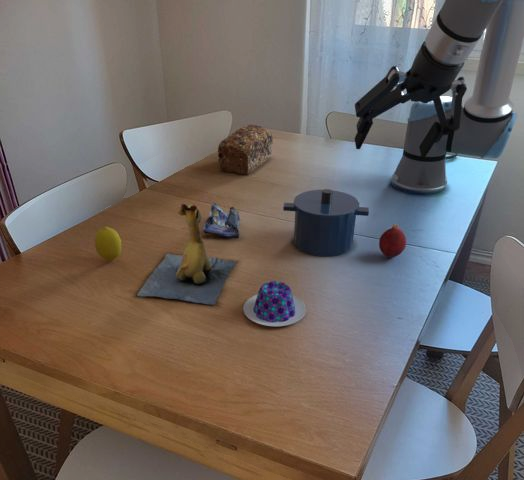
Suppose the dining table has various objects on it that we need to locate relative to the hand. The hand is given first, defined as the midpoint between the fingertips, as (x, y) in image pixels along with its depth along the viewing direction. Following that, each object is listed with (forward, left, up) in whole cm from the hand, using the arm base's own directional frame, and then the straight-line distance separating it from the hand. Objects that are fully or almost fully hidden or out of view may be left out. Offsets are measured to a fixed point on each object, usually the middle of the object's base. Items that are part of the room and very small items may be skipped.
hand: (389, 148), depth 107 cm
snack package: (+20, -31, -25) cm, 44 cm away
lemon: (+49, -31, -25) cm, 63 cm away
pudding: (+30, +5, -25) cm, 39 cm away
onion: (-4, +1, -25) cm, 25 cm away
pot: (+4, -13, -24) cm, 28 cm away
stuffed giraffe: (+38, -15, -25) cm, 48 cm away
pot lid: (+4, -13, -15) cm, 20 cm away
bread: (-9, -68, -25) cm, 73 cm away
